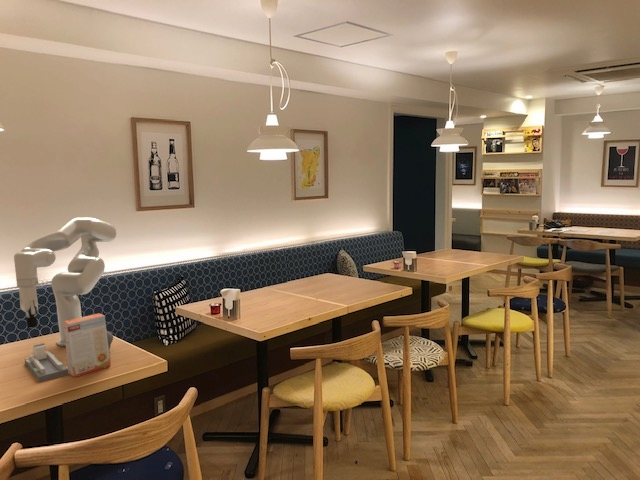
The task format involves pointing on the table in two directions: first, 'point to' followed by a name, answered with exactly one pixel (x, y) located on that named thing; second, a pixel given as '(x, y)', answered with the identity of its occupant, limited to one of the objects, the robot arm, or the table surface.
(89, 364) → the cracker box
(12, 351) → the table surface
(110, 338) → the light bulb
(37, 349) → the switch tab
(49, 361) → the switch panel
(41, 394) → the table surface
